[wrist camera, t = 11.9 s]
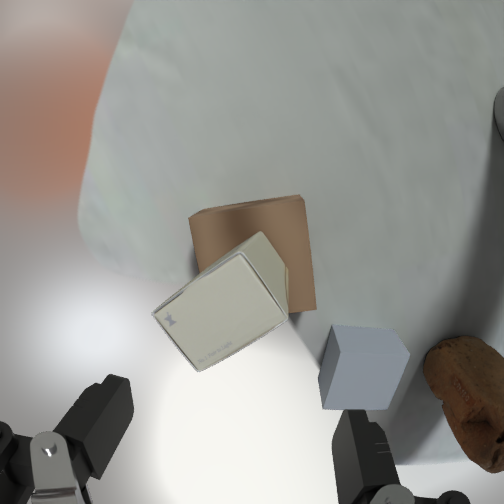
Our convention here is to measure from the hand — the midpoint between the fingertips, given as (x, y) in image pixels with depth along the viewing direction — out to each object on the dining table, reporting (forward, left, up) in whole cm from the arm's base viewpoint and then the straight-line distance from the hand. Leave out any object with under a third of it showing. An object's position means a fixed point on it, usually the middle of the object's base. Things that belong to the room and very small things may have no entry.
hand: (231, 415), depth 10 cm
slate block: (-13, +12, -24) cm, 30 cm away
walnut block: (0, 0, -24) cm, 24 cm away
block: (-28, +12, -24) cm, 39 cm away
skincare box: (+1, 0, -18) cm, 18 cm away
